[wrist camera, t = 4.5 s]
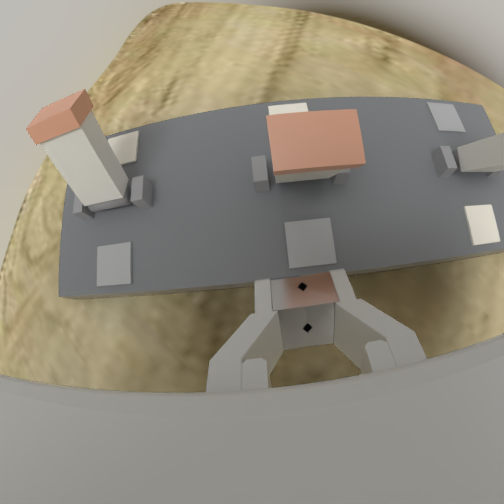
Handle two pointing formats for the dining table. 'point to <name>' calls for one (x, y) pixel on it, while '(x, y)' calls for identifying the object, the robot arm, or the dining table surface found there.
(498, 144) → the lever
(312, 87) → the dining table surface
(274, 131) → the middle lever
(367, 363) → the robot arm
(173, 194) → the switch panel
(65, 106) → the lever
